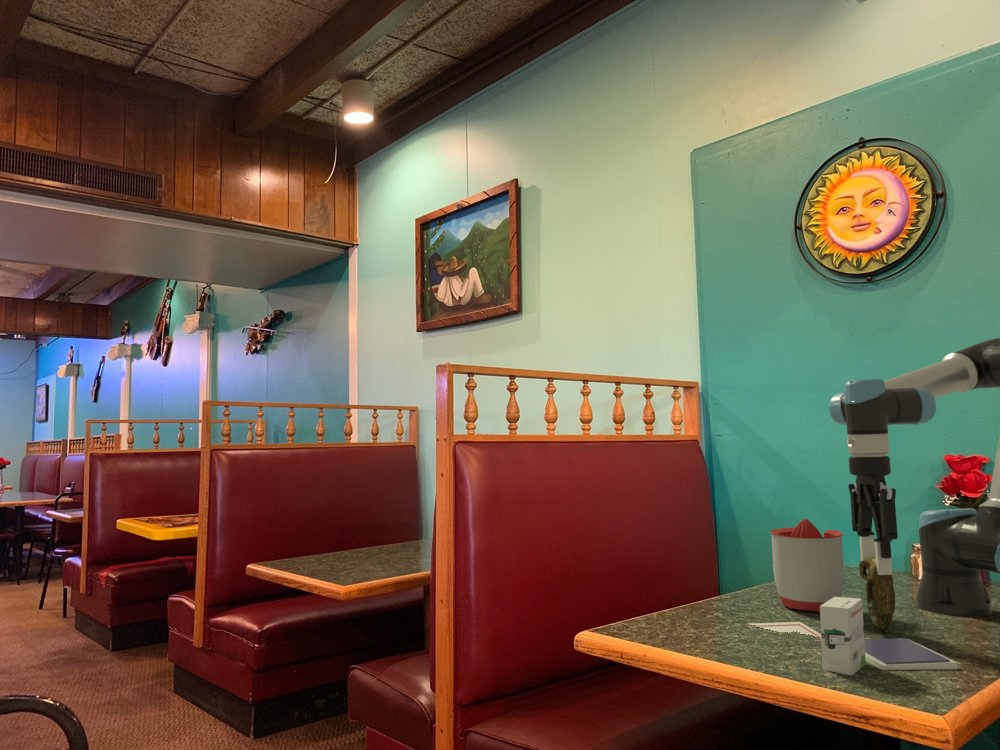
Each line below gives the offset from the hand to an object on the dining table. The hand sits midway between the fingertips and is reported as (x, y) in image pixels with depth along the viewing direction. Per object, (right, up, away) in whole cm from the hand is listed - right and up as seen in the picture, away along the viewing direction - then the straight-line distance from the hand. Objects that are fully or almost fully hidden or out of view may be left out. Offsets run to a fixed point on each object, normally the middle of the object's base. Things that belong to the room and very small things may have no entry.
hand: (876, 571), depth 148 cm
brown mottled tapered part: (0, -12, -1) cm, 12 cm away
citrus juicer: (-4, -14, +22) cm, 26 cm away
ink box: (-17, -11, -23) cm, 31 cm away
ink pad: (-5, -11, -17) cm, 21 cm away
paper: (-20, -13, -1) cm, 24 cm away
